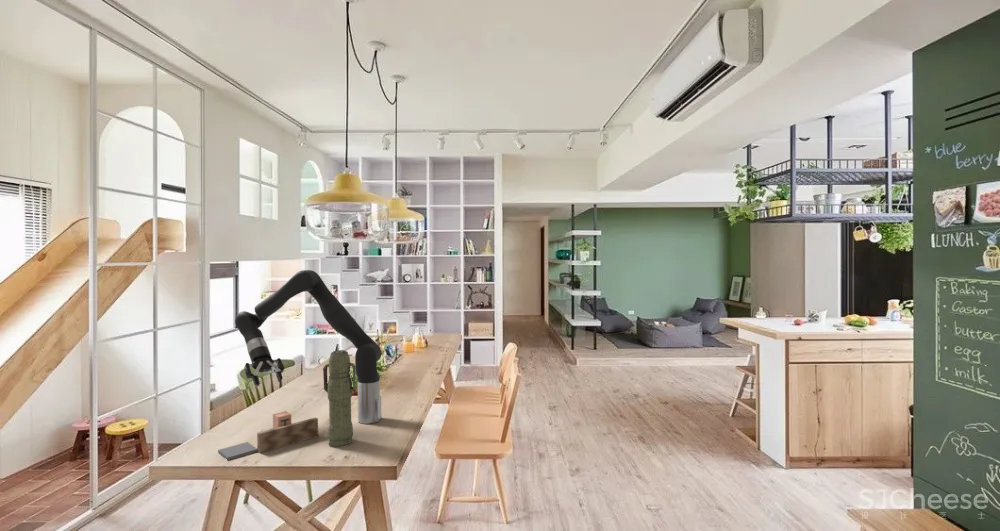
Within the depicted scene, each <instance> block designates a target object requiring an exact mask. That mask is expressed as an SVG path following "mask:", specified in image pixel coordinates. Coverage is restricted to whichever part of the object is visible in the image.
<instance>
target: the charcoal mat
mask: <svg viewBox="0 0 1000 531" xmlns="http://www.w3.org/2000/svg"><path fill="white" fill-rule="evenodd" d="M217 451H218V452H217V453H218V454H219V455H220V456H222V458H224V459H225V458H226V459H227V460H226V459H225V460H226V461H230V460H229V459H231V460H234V459H237V457H238V458H240V456H241V457H244V455H245V456H248V455H252V454H255V453H259V452H258V449H257V447H255V446H254V445H253V444H251V443H250V442H248V441H246V442H243V443H239V444H235V445H231V446H228V447H224V448H220V449H218V450H217ZM233 458H234V459H233Z"/></svg>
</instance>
